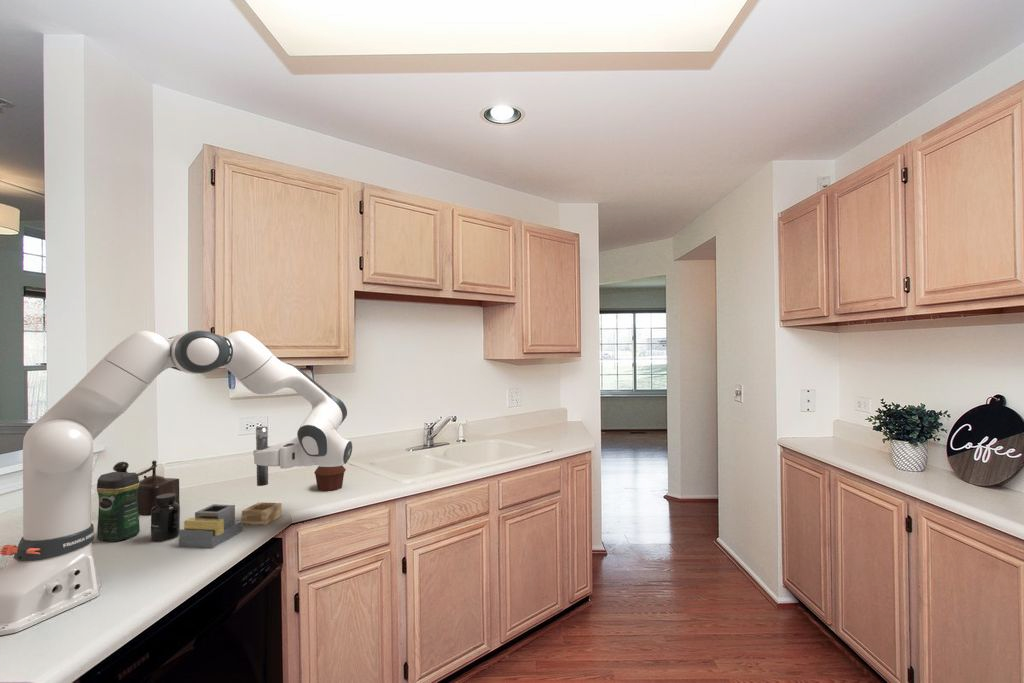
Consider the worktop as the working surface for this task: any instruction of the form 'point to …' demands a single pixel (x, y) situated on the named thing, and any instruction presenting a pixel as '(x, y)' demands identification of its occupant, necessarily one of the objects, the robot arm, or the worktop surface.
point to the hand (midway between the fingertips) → (259, 450)
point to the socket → (206, 537)
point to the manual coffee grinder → (151, 487)
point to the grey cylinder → (262, 444)
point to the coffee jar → (118, 506)
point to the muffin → (329, 478)
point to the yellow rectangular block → (205, 525)
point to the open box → (262, 513)
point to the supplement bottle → (165, 518)
